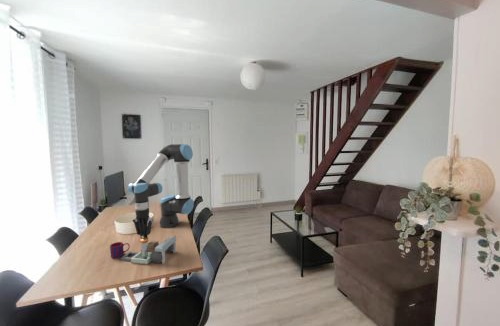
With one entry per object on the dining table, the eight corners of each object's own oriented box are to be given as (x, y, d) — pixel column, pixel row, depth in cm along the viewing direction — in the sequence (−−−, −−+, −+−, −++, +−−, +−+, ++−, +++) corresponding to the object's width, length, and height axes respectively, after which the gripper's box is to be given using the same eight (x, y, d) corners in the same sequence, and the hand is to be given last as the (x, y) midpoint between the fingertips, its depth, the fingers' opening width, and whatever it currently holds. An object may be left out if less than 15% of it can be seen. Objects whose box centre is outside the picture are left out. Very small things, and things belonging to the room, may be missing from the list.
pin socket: (129, 254, 137) (129, 251, 137) (140, 255, 136) (139, 252, 136) (121, 260, 131) (120, 257, 130) (132, 261, 129) (131, 258, 129)
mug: (111, 253, 138) (111, 243, 137) (130, 250, 142) (129, 240, 141) (109, 259, 132) (108, 248, 131) (129, 255, 136) (128, 244, 135)
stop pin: (142, 257, 132) (142, 237, 131) (149, 257, 132) (149, 237, 131) (139, 260, 128) (138, 240, 127) (146, 261, 128) (145, 241, 126)
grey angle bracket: (164, 250, 141) (163, 234, 140) (176, 251, 140) (175, 235, 139) (150, 262, 127) (149, 245, 126) (163, 264, 126) (162, 246, 125)
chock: (152, 248, 145) (152, 240, 145) (158, 248, 144) (158, 241, 144) (146, 252, 139) (146, 244, 139) (153, 253, 138) (152, 245, 138)
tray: (140, 255, 135) (140, 251, 135) (156, 257, 134) (155, 253, 133) (131, 262, 128) (131, 258, 127) (147, 264, 126) (147, 260, 126)
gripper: (128, 209, 138) (131, 247, 140) (147, 210, 135) (150, 249, 137) (136, 206, 145) (139, 241, 147) (155, 207, 142) (157, 243, 145)
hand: (144, 245), depth 142 cm, fingers closed
